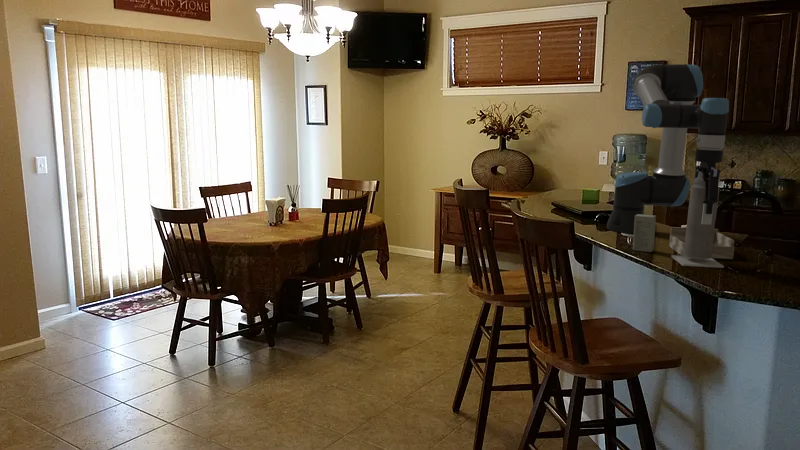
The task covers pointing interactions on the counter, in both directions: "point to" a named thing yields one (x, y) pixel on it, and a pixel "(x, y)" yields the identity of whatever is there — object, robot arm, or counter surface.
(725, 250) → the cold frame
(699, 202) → the thermos bottle
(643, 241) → the skincare box
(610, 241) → the counter surface
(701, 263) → the ceramic tile
